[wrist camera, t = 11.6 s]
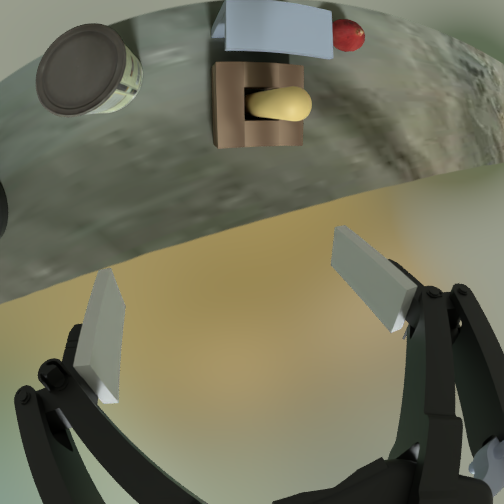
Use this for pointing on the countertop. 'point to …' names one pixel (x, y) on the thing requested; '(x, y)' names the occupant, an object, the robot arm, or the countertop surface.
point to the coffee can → (88, 72)
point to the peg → (279, 104)
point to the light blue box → (275, 28)
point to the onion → (347, 35)
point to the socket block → (232, 104)
